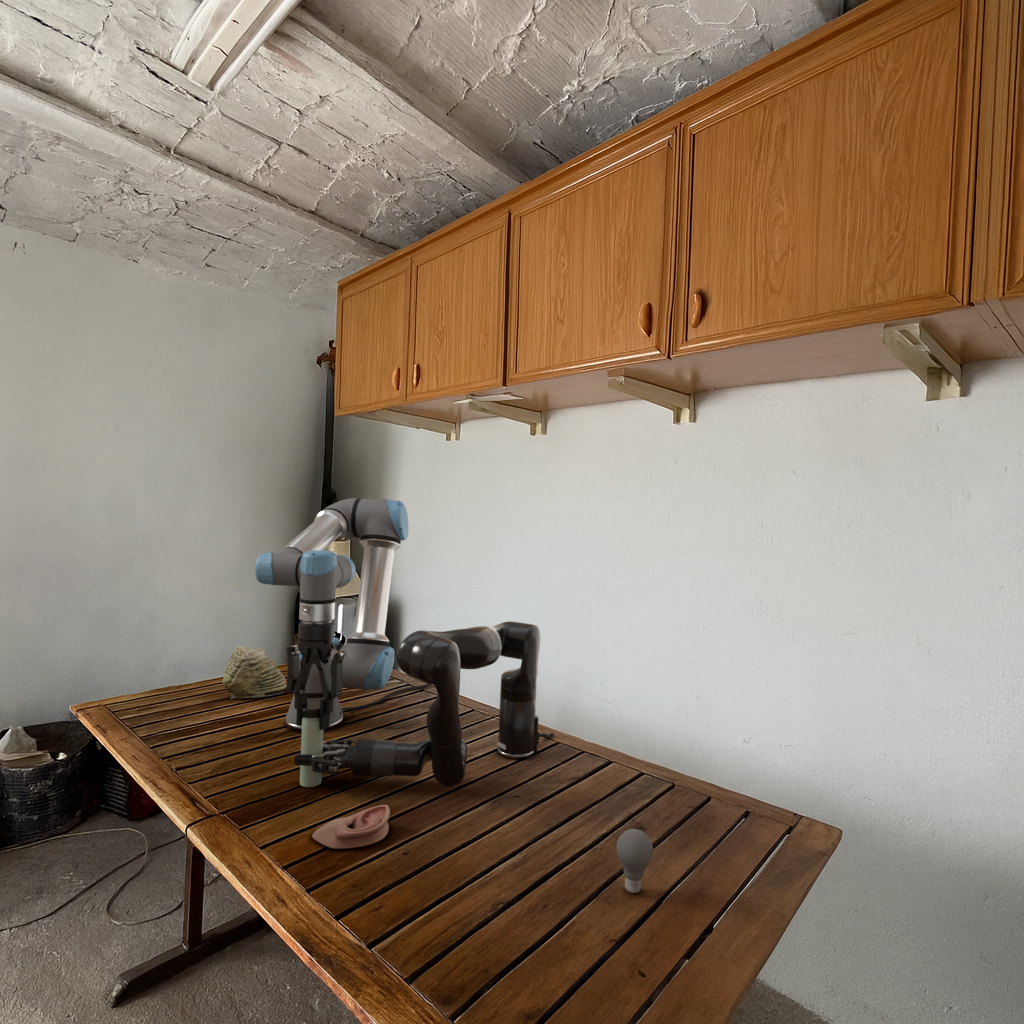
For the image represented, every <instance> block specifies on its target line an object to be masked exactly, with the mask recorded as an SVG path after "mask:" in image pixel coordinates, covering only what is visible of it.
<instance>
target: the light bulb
mask: <svg viewBox="0 0 1024 1024" xmlns="http://www.w3.org/2000/svg"><path fill="white" fill-rule="evenodd" d="M615 849H616V854H617V857H618V859H619V861H620V863H621V865H622V867H623V873H624V874H623V875H624V876H625V878H624V888H625V890H627V891H628V892H630V893H634V894H635V893H639V892H640V891H641V889H642V887H641V886H642V879H643V877H644V875H645V871H646V868H647V867H648V866H649V864H650V863H651V861H652V859H653V855H654V847H653V843H652V841H651V838H649V836H648V835H647V834H646V833H645V832H643V831H642V830H641V829H636V828H629V829H627V830H625V831H623V832H622V833H621V834H620V835H619V837H618V839H617V841H616V847H615Z"/></svg>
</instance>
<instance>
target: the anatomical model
mask: <svg viewBox="0 0 1024 1024" xmlns="http://www.w3.org/2000/svg"><path fill="white" fill-rule="evenodd" d="M390 816H391V809H390V807H389V805H388V804H380V805H376V806H372V807H368V808H366V809H363V810H361V811H359V812H356V813H353V814H351V815H349V816H346V817H338V818H336V819H333V820H331V821H328V822H326V823H325V824H323V825H322V826H320V827H319V828H317V829H316V830H315V831H314V832H313V833H312V834H311V837H312V839H313V840H315V841H316V842H318V843H319V844H320V845H322V846H325V847H327V848H330V849H334V850H335V849H336V850H341V849H344V850H345V849H353V848H359V847H365V846H369V845H373V844H375V843H378V842H380V841H382V840H384V839H385V838H386V837H387V835H388V833H389V828H390V826H389V825H390V824H389V823H388V821H389V819H390Z"/></svg>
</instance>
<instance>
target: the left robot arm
mask: <svg viewBox="0 0 1024 1024" xmlns="http://www.w3.org/2000/svg"><path fill="white" fill-rule="evenodd" d="M409 527H410V526H409V517H408V511H407V507H406V505H405V504H404V502H403V501H401V500H395V499H390V498H385V499H383V498H380V499H379V498H359V497H351V498H346V499H342V500H340V501H337V502H334V503H332V504H330V505H328V506H326V507H325V508H324V509H322V510H321V511H319V512H318V513H317V514H316V516H315V517H314V519H313V522H311V524H310V525H309V526H307V527H306V528H305V529H304V530H303V531H301V532H300V533H298V535H297V536H295V537H294V538H293V539H292V540H290V541H289V543H287V544H286V545H285V546H283V547H282V548H281V549H280V550H278V552H272V551H271V552H262V553H260V554H259V555H258V557H257V559H256V561H255V564H254V576H255V578H256V580H257V582H258V583H260V584H262V585H270V586H285V587H286V586H288V587H299V611H298V612H299V614H298V615H299V616H298V619H299V620H300V621H299V623H298V634H297V637H298V639H299V641H298V642H297V644H293V645H290V646H287V647H286V653H287V675H286V676H287V677H286V685H287V687H286V691H287V692H291V693H292V694H293V695H292V696H293V697H292V699H291V702H290V704H289V708H288V711H287V713H286V715H285V726H286V728H287V729H289V730H291V731H294V732H295V731H296V732H301V733H302V718H303V717H302V716H301V706H302V705H303V704H305V703H309V702H320V724H319V729H320V730H323V732H325V731H329V730H332V729H335V728H337V727H339V726H340V725H342V723H343V722H344V714H343V711H351V710H352V711H353V710H357V709H358V710H359V709H364V708H367V707H370V706H371V707H372V706H374V705H377V704H379V703H381V702H383V701H384V700H385V699H387V698H389V697H392V696H394V695H396V694H399V693H403V692H407V691H411V690H418V689H423V688H428V687H429V686H432V685H431V684H428V683H426V684H423V685H417V686H416V685H415V686H411V687H404V688H402V689H398V690H394V691H392V692H390V693H388V694H385V695H383V696H382V697H381V698H379V699H377V700H375V701H372V702H368V703H364V704H361V705H355V706H346V707H345V706H344V707H342V706H341V702H340V699H339V696H341V695H343V689H354V690H365V691H370V690H371V691H372V690H375V691H376V690H377V691H378V690H382V689H383V688H384V687H385V686H386V685H387V684H388V682H389V680H390V677H391V675H392V672H393V668H394V663H395V649H394V648H393V647H391V646H390V640H389V639H388V637H387V636H386V625H387V620H388V619H387V617H388V611H389V610H388V609H389V601H390V592H391V584H392V583H391V582H392V574H393V566H394V557H395V552H396V551H397V550H398V549H400V548H401V542H402V541H405V540H407V539H408V535H409ZM343 538H358V539H359V543H360V545H361V546H362V547H363V549H364V550H363V558H362V563H361V565H362V566H361V572H360V580H359V588H358V597H357V605H356V610H355V611H356V612H355V620H354V627H353V631H352V633H351V634H350V635H348V636H347V638H346V643H345V644H341V641H340V639H339V638H338V637H335V622H334V620H335V618H336V592H337V591H336V590H337V589H338V588H344V587H345V586H347V585H348V584H350V583H351V582H352V581H353V580H354V578H355V575H356V564H355V563H354V561H353V560H352V559H351V557H349V556H347V555H344V554H337V553H336V552H334V551H332V550H327V548H328V547H330V546H331V545H332V544H333V543H334V542H338V541H340V540H342V539H343Z"/></svg>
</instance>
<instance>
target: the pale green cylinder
mask: <svg viewBox="0 0 1024 1024" xmlns="http://www.w3.org/2000/svg"><path fill="white" fill-rule="evenodd" d="M319 724H320V717H319V718H304V717H303V718H302V732H301V737H300V738H301V739H300V740H301V741H300V754H312V755H317V754H323V744H324V731H323V730H320V729H319ZM320 759H323V758H320ZM299 767H300V768H299V785H300V786H301V787H304V788H313V787H317V786H319V785H321V784H322V780H323V773H319V772H314V771H312V766H303V765H299ZM319 768H322V767H319Z"/></svg>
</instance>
